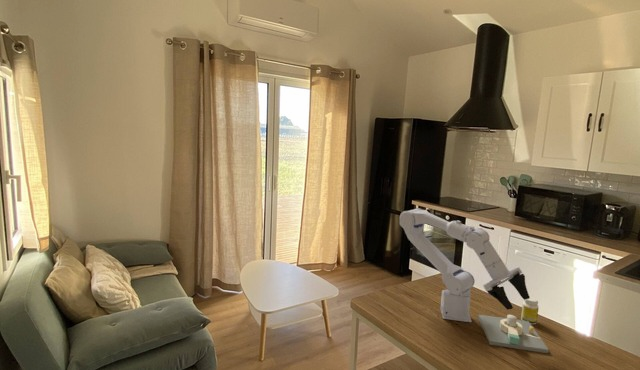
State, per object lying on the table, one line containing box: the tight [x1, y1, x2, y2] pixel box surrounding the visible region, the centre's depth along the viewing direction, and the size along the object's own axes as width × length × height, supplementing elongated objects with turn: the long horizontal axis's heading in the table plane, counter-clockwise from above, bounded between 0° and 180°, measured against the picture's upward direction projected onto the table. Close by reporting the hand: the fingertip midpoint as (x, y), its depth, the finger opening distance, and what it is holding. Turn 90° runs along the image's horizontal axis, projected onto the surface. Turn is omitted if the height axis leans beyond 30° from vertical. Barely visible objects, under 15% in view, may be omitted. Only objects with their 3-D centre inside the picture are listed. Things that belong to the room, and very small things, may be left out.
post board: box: [477, 314, 550, 354], centre depth 108 cm, size 16×16×6 cm
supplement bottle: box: [520, 295, 539, 325], centre depth 116 cm, size 5×5×8 cm
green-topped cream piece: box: [500, 319, 523, 345], centre depth 105 cm, size 11×6×2 cm, turn 157°
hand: (518, 303), depth 103 cm, fingers open, 7 cm apart
